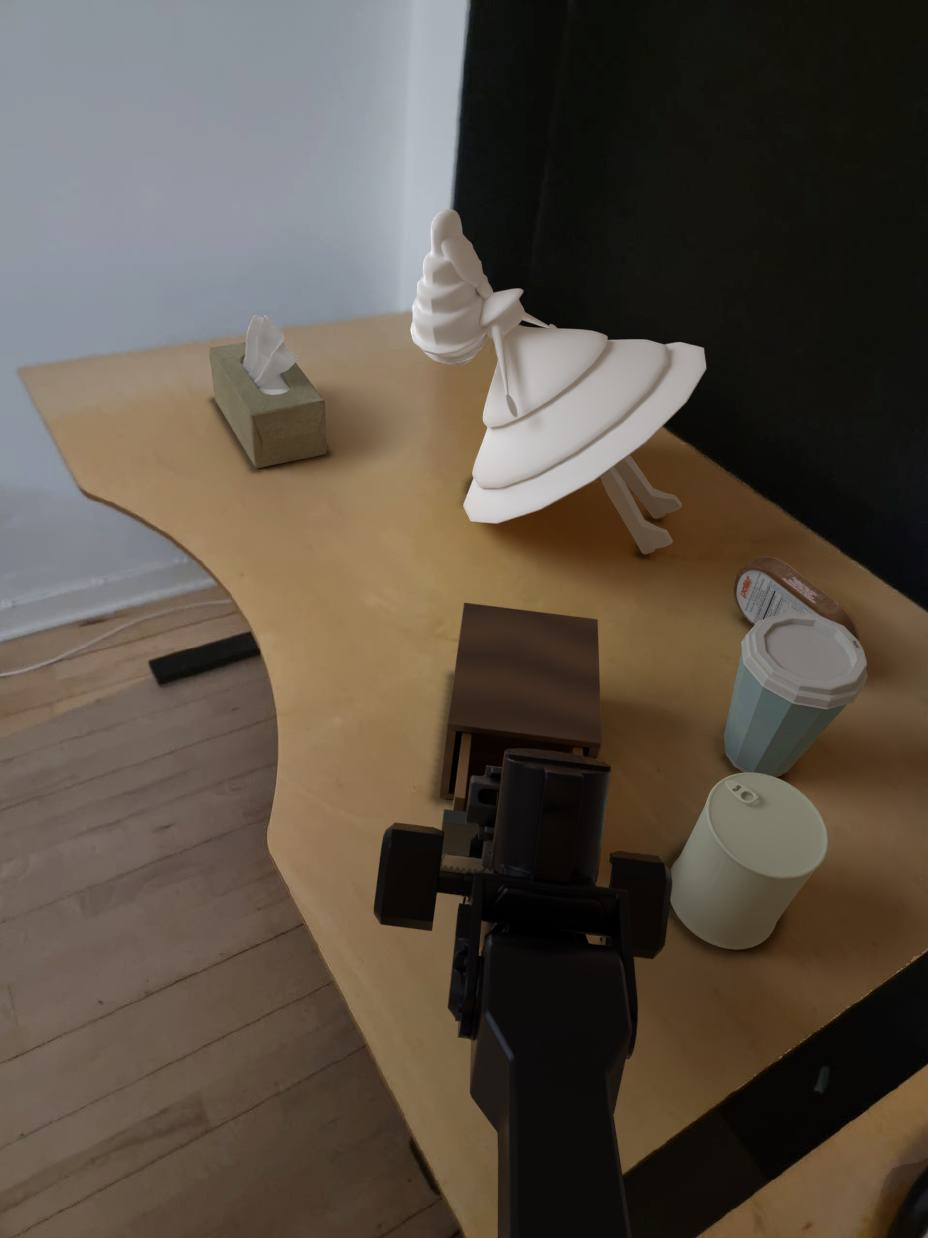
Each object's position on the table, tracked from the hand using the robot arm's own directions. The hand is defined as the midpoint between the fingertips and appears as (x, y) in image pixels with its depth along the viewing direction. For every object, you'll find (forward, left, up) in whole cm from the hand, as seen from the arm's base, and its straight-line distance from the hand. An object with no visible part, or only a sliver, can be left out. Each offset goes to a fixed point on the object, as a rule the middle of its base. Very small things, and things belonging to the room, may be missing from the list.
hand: (514, 855), depth 63 cm
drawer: (+6, -1, -7) cm, 9 cm away
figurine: (+55, -11, -8) cm, 57 cm away
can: (0, -19, -8) cm, 20 cm away
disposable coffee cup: (+15, -27, -8) cm, 32 cm away
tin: (+30, -35, -8) cm, 47 cm away
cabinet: (+17, -3, -8) cm, 19 cm away
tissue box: (+71, +24, -8) cm, 76 cm away
